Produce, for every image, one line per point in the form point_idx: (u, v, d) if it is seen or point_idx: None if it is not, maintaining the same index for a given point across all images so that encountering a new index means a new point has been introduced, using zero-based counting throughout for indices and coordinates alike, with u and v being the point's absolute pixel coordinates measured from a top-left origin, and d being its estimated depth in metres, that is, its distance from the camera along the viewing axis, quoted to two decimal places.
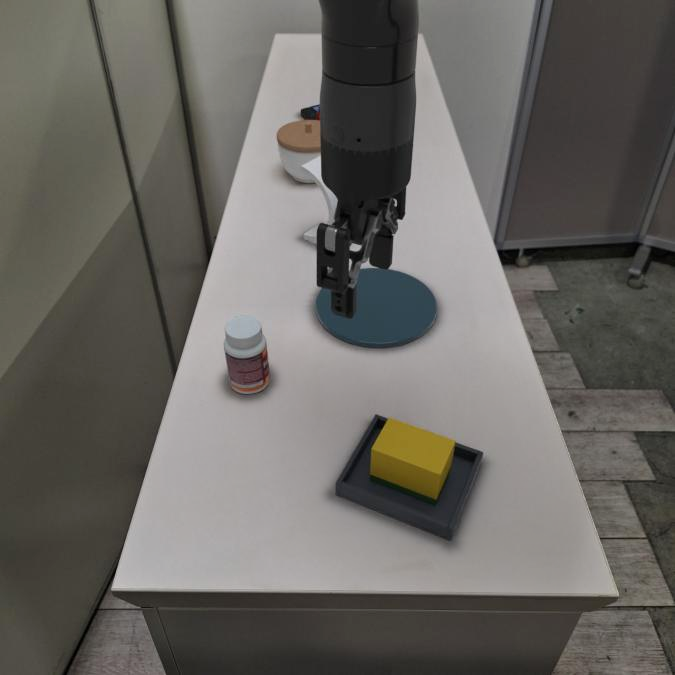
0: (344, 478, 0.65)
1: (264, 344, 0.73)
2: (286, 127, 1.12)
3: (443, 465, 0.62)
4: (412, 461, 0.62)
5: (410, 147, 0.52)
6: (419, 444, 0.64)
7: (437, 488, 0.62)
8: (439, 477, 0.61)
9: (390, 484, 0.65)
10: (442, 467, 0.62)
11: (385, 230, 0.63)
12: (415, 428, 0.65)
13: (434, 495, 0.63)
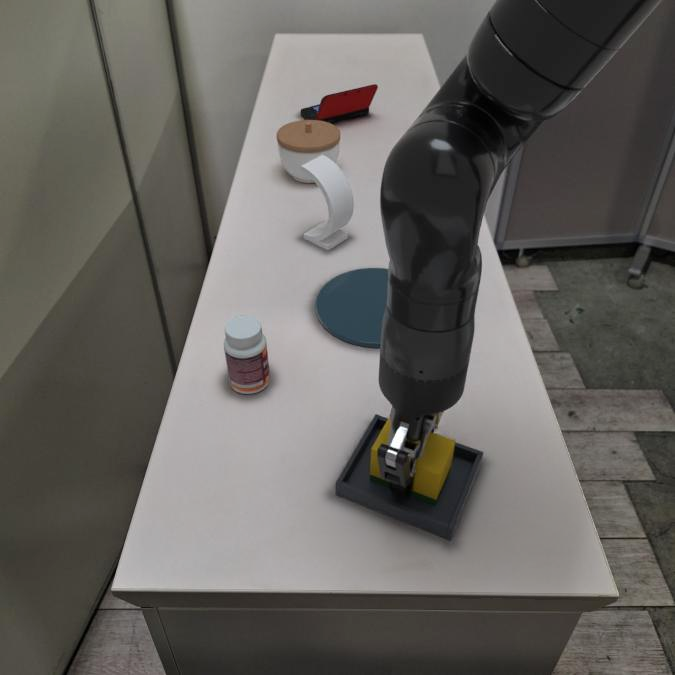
0: (344, 478, 0.65)
1: (264, 344, 0.73)
2: (286, 127, 1.12)
3: (443, 465, 0.62)
4: None
5: (467, 367, 0.55)
6: None
7: (437, 488, 0.62)
8: (439, 477, 0.61)
9: None
10: (442, 467, 0.62)
11: None
12: None
13: (434, 495, 0.63)
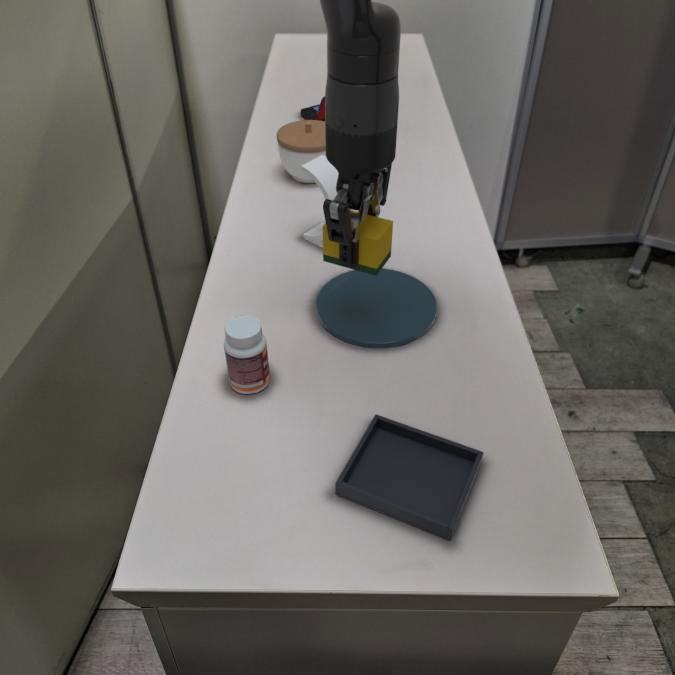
0: (344, 478, 0.65)
1: (264, 344, 0.73)
2: (286, 127, 1.12)
3: (381, 235, 0.75)
4: None
5: (395, 132, 0.68)
6: (362, 223, 0.77)
7: (376, 256, 0.76)
8: (377, 243, 0.74)
9: None
10: (380, 236, 0.75)
11: (370, 213, 0.78)
12: None
13: (375, 264, 0.76)
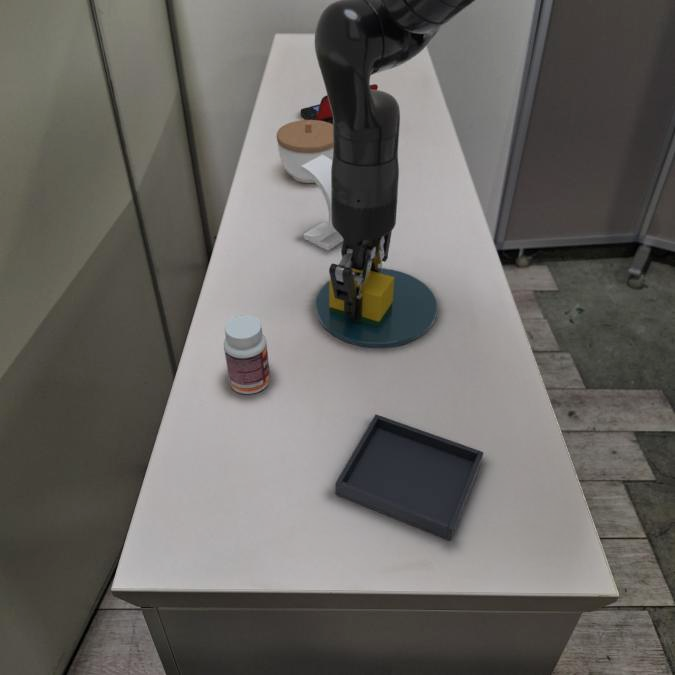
0: (344, 478, 0.65)
1: (264, 344, 0.73)
2: (286, 127, 1.12)
3: (383, 291, 0.81)
4: None
5: (395, 203, 0.74)
6: None
7: (379, 310, 0.82)
8: (379, 299, 0.81)
9: None
10: (382, 292, 0.81)
11: (372, 270, 0.84)
12: None
13: (377, 317, 0.83)
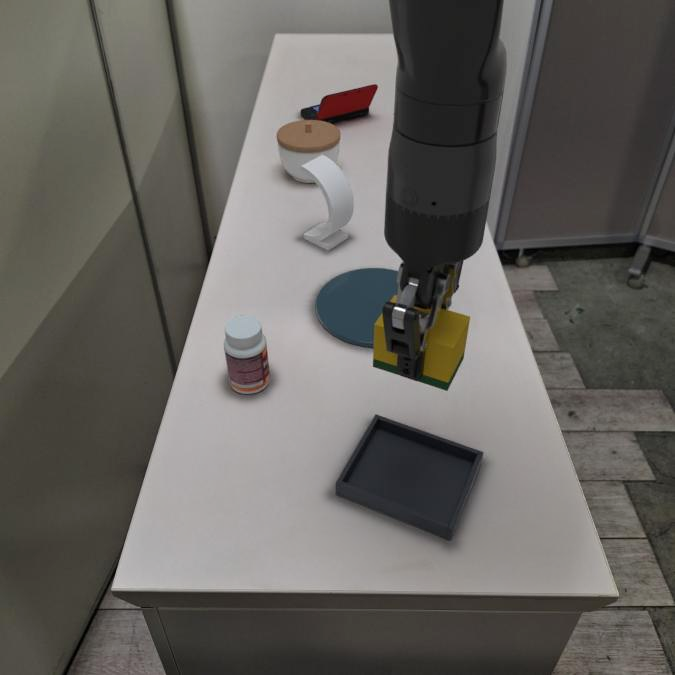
0: (344, 478, 0.65)
1: (264, 344, 0.73)
2: (286, 127, 1.12)
3: (456, 339, 0.54)
4: None
5: (487, 208, 0.47)
6: None
7: (449, 367, 0.55)
8: (452, 352, 0.54)
9: (396, 368, 0.58)
10: (455, 341, 0.54)
11: None
12: None
13: (446, 377, 0.56)
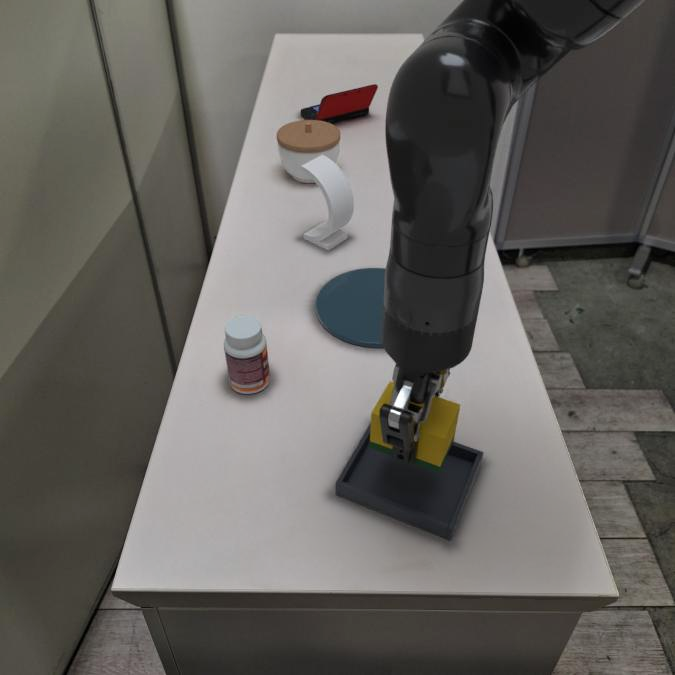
0: (344, 478, 0.65)
1: (264, 344, 0.73)
2: (286, 127, 1.12)
3: (447, 429, 0.58)
4: None
5: (475, 321, 0.51)
6: None
7: (441, 454, 0.59)
8: (443, 441, 0.58)
9: (391, 451, 0.62)
10: (446, 431, 0.58)
11: None
12: None
13: (438, 462, 0.60)
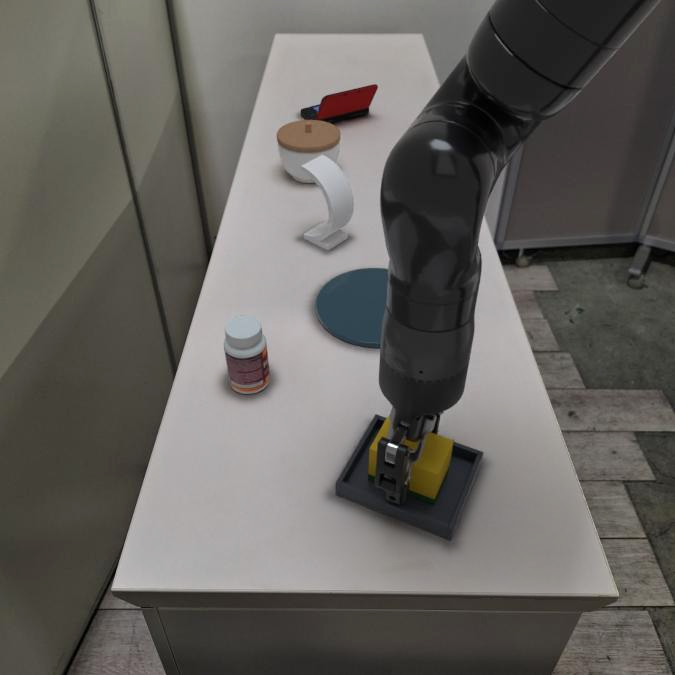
0: (344, 478, 0.65)
1: (264, 344, 0.73)
2: (286, 127, 1.12)
3: (441, 465, 0.62)
4: None
5: (467, 367, 0.55)
6: (417, 444, 0.64)
7: (435, 488, 0.62)
8: (437, 477, 0.61)
9: None
10: (440, 467, 0.62)
11: None
12: None
13: (432, 495, 0.63)
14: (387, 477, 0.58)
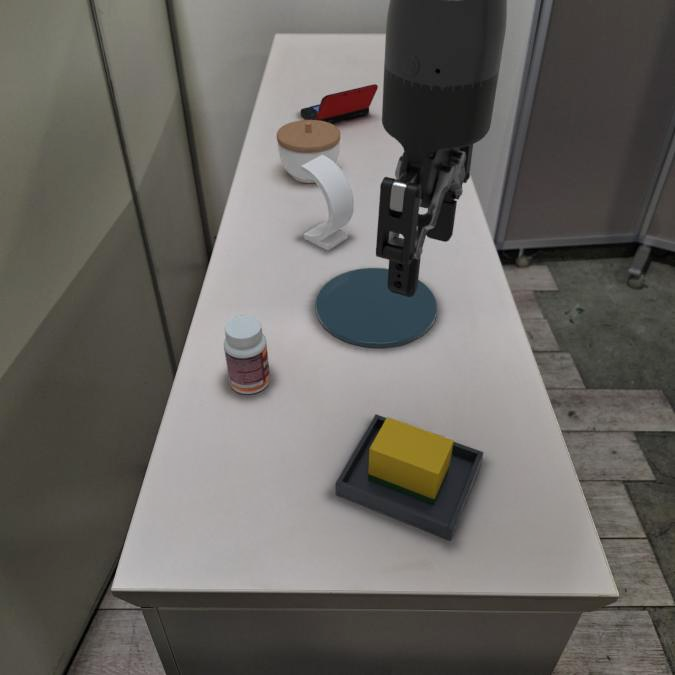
0: (344, 478, 0.65)
1: (264, 344, 0.73)
2: (286, 127, 1.12)
3: (441, 465, 0.62)
4: (410, 461, 0.62)
5: (495, 84, 0.43)
6: (417, 444, 0.64)
7: (435, 488, 0.62)
8: (437, 477, 0.61)
9: (388, 483, 0.65)
10: (440, 467, 0.62)
11: (448, 194, 0.54)
12: (413, 428, 0.65)
13: (432, 495, 0.63)
14: (392, 243, 0.46)
